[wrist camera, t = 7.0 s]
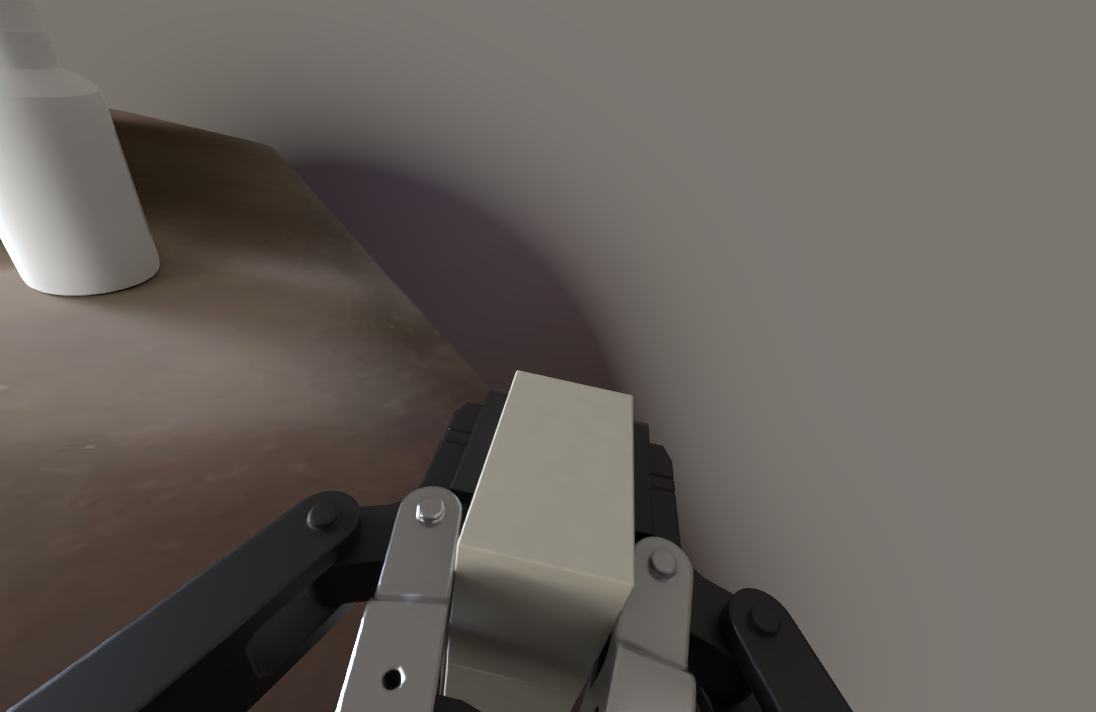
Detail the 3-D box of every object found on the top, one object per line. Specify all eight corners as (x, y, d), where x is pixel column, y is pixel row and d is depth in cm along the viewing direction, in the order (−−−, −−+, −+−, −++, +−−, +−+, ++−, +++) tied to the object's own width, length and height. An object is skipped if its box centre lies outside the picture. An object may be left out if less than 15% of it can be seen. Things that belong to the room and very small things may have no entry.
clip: (481, 594, 18) (516, 369, 12) (557, 612, 18) (633, 395, 12) (437, 757, 14) (456, 544, 8) (535, 781, 14) (636, 586, 8)
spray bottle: (168, 249, 35) (65, -70, 25) (153, 294, 30) (17, -79, 20) (44, 252, 32) (-131, -109, 22) (5, 302, 27) (-243, -131, 17)
